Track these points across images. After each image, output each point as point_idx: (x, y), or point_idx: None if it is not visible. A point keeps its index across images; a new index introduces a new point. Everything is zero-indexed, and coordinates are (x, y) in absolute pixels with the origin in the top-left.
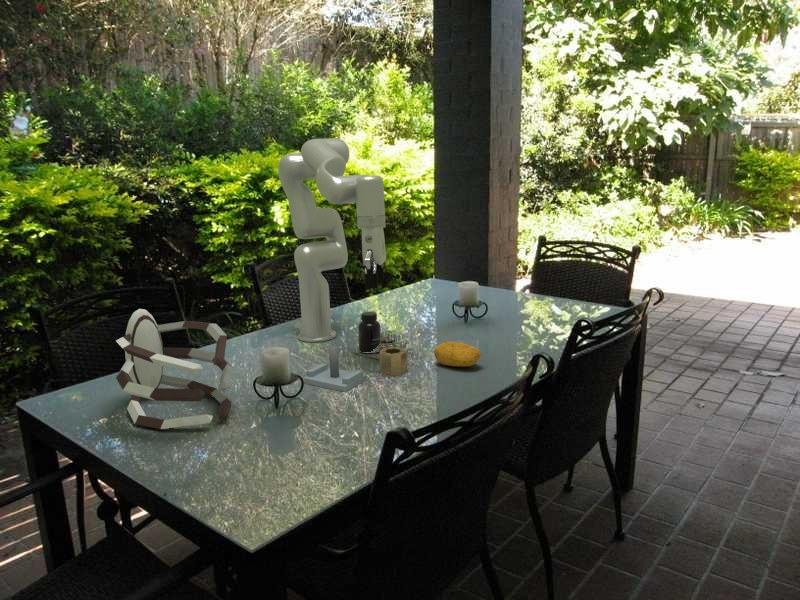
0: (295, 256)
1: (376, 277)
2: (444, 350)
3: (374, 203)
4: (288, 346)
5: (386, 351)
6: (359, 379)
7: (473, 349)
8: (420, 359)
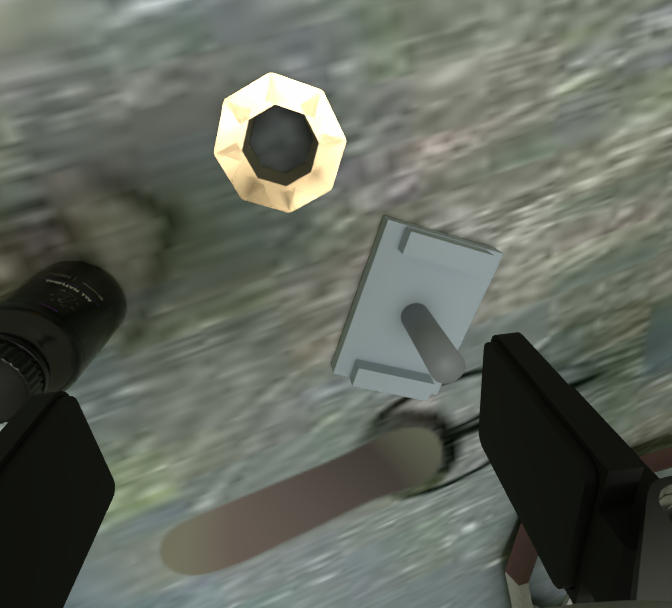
0: None
1: (599, 423)
2: None
3: None
4: (143, 539)
5: (272, 181)
6: (427, 230)
7: None
8: (100, 51)
